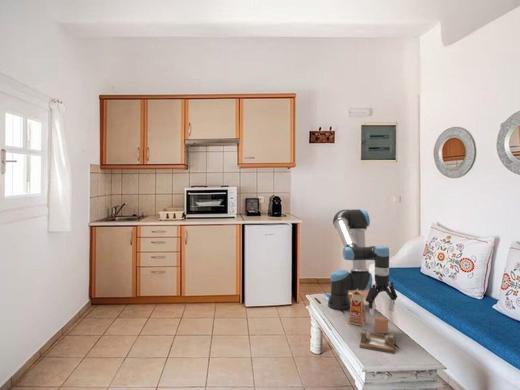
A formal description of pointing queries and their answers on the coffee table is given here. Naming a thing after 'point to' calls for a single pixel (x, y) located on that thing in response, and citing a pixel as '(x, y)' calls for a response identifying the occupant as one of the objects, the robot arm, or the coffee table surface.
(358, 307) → the milk carton
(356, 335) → the coffee table surface
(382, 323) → the block
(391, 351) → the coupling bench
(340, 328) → the coffee table surface
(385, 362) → the coffee table surface
